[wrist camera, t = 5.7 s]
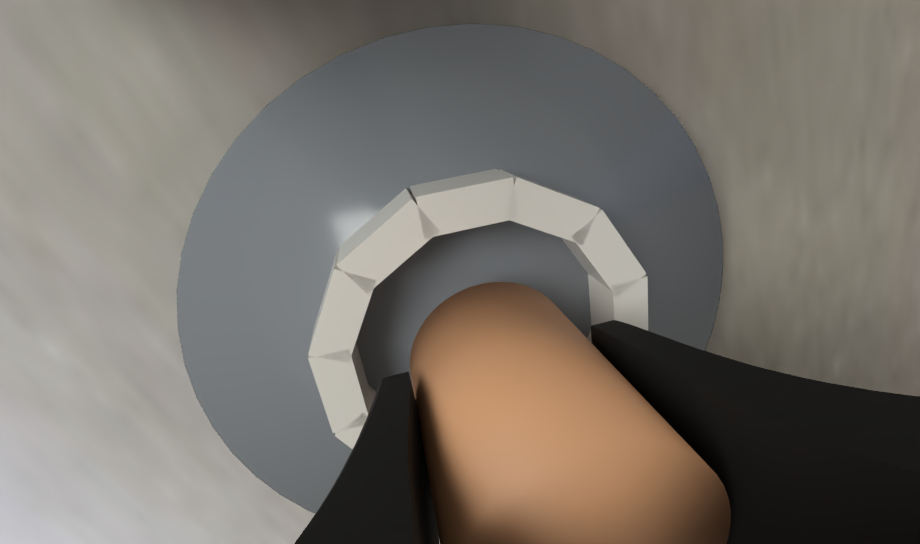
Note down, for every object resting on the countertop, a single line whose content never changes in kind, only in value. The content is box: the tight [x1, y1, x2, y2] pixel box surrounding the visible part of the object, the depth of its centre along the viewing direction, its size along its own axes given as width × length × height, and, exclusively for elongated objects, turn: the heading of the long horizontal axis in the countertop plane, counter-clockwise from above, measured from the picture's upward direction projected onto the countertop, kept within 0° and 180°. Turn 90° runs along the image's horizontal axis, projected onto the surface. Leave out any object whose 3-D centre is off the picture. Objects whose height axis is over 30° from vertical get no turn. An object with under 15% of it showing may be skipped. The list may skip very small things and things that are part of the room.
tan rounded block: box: [410, 282, 731, 544], centre depth 10 cm, size 4×4×6 cm
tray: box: [177, 23, 723, 535], centre depth 13 cm, size 16×16×2 cm
